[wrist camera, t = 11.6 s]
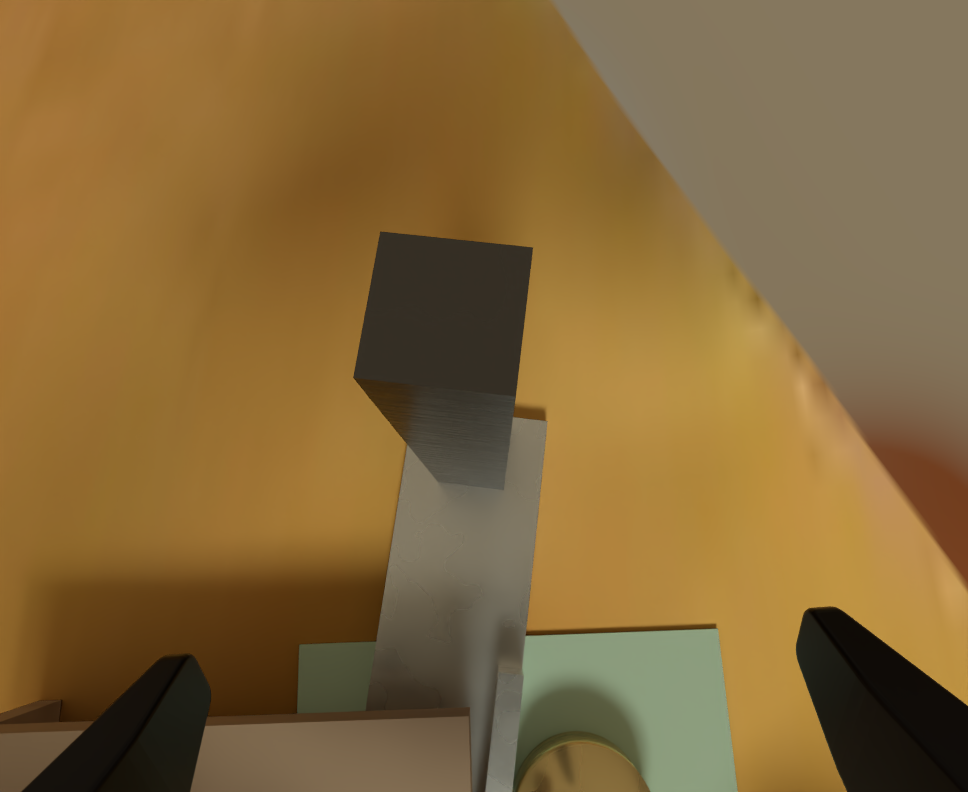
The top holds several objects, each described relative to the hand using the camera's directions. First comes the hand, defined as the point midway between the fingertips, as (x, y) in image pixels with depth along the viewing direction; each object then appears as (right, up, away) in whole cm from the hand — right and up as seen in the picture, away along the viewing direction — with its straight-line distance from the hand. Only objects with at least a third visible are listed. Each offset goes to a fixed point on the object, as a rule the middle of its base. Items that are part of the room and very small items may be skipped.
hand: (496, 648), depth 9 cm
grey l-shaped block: (-1, -4, +12) cm, 13 cm away
